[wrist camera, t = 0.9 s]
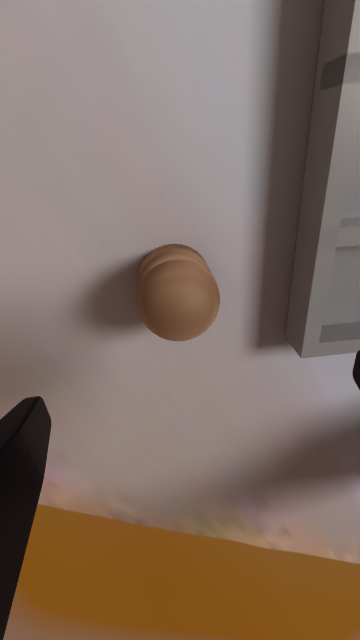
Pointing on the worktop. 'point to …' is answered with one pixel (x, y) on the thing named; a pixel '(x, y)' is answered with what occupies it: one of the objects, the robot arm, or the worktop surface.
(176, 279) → the brown egg
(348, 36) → the grey egg tray
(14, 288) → the worktop surface
